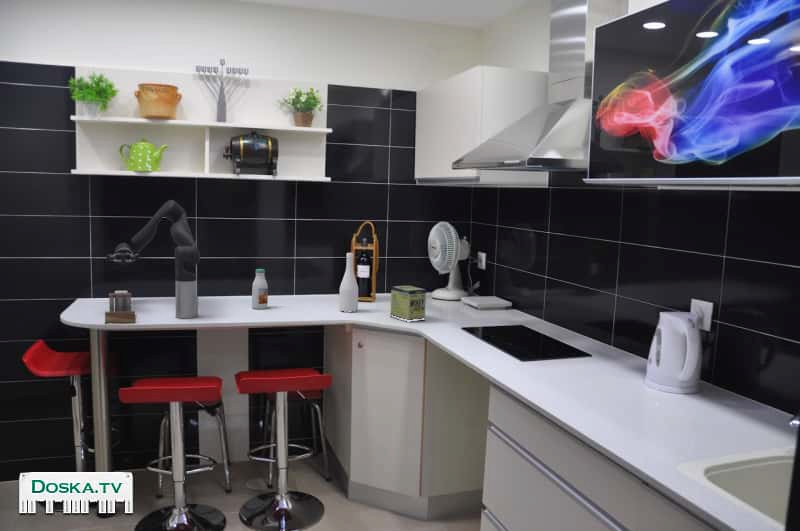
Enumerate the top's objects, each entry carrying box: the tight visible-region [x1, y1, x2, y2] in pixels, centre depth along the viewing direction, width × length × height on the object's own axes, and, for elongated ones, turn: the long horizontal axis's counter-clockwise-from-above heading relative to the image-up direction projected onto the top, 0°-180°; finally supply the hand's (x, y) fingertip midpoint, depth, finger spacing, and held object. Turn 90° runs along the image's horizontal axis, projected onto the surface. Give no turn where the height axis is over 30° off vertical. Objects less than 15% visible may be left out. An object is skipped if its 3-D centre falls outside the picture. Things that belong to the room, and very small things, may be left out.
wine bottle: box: [338, 252, 359, 313], centre depth 334 cm, size 10×10×30 cm
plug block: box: [114, 290, 129, 312], centre depth 296 cm, size 5×5×12 cm
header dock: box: [104, 292, 137, 325], centre depth 295 cm, size 16×12×13 cm
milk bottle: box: [251, 268, 269, 310], centre depth 334 cm, size 8×8×20 cm
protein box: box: [389, 285, 427, 320], centre depth 322 cm, size 10×16×16 cm
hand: (122, 258), depth 303 cm, fingers open, 8 cm apart
